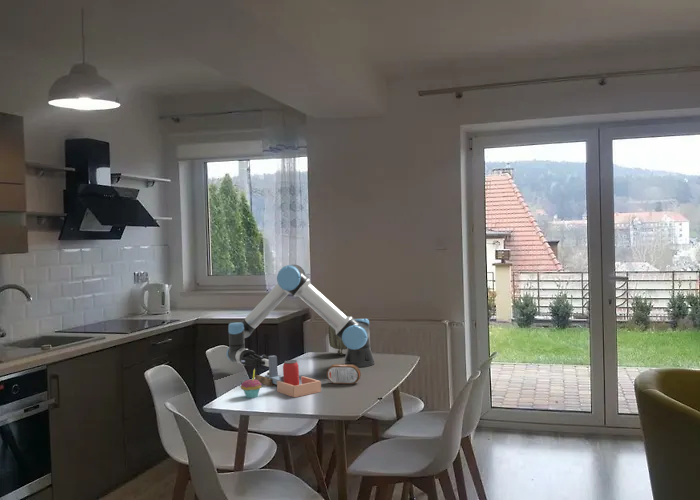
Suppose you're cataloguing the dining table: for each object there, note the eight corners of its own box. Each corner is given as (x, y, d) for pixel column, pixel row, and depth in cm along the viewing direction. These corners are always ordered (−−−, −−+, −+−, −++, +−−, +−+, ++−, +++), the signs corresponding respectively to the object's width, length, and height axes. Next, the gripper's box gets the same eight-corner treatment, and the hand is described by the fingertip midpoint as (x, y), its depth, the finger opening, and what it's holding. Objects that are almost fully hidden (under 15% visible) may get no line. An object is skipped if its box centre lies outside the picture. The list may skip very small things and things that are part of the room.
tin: (361, 383, 279) (360, 364, 279) (359, 384, 276) (358, 365, 276) (328, 382, 283) (327, 363, 283) (326, 384, 280) (325, 365, 280)
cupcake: (265, 394, 266) (264, 365, 266) (256, 399, 258) (254, 370, 258) (247, 393, 269) (245, 365, 268) (237, 398, 261) (235, 369, 260)
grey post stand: (263, 382, 287) (262, 356, 287) (275, 379, 290) (274, 354, 290) (281, 387, 274) (279, 360, 273) (294, 385, 277) (292, 358, 277)
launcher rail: (255, 381, 292) (254, 374, 292) (269, 378, 296) (269, 372, 296) (270, 386, 281) (269, 379, 281) (284, 383, 285) (284, 376, 285)
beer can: (293, 391, 268) (292, 363, 268) (280, 390, 272) (279, 362, 272) (302, 388, 274) (301, 360, 274) (290, 386, 277) (288, 359, 277)
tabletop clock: (358, 354, 348) (356, 308, 348) (348, 357, 341) (346, 310, 341) (338, 352, 357) (336, 308, 357) (328, 355, 350) (325, 309, 350)
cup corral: (277, 391, 270) (276, 381, 270) (303, 386, 277) (303, 376, 277) (294, 397, 258) (294, 386, 258) (321, 391, 266) (320, 381, 266)
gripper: (259, 362, 309) (283, 369, 290) (234, 367, 302) (257, 374, 282) (258, 347, 309) (282, 353, 290) (233, 351, 301) (256, 357, 282)
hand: (270, 363), depth 286 cm, fingers closed
